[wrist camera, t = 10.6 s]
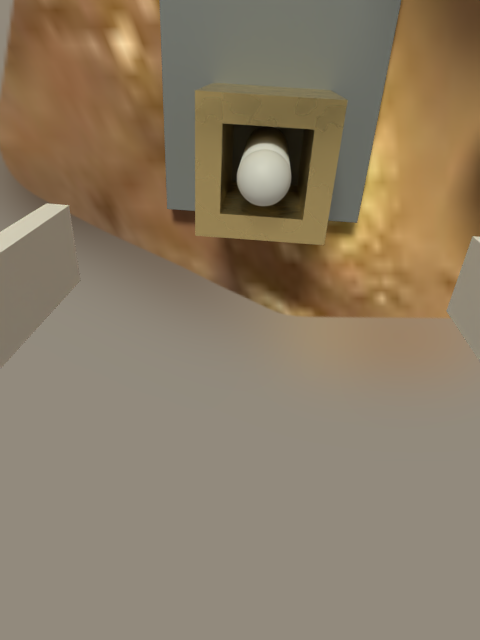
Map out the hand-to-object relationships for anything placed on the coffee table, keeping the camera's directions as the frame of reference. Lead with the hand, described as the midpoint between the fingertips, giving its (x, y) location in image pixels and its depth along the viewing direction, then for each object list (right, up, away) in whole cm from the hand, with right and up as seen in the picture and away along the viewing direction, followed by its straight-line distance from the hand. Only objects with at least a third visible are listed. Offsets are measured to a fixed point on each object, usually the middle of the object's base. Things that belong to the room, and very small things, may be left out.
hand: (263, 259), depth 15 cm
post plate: (+2, +16, +15) cm, 22 cm away
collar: (+1, +10, +17) cm, 20 cm away
